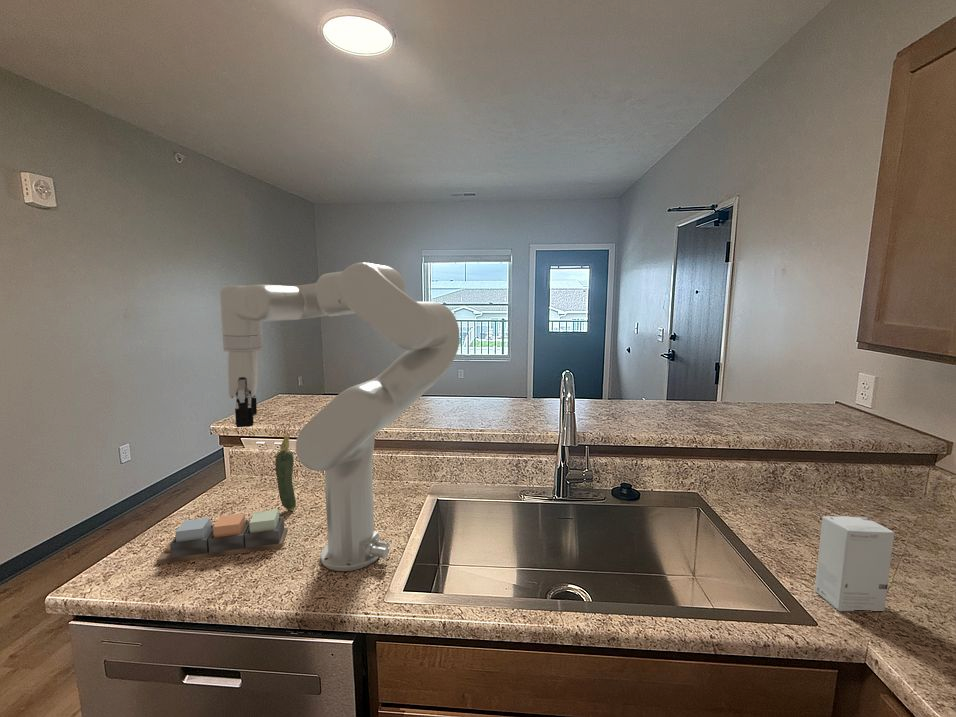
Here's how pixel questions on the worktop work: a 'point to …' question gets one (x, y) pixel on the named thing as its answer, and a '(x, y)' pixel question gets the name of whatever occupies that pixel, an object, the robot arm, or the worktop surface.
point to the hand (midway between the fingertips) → (247, 420)
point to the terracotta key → (229, 525)
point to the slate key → (193, 529)
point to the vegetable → (285, 475)
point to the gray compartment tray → (224, 544)
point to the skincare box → (854, 563)
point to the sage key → (264, 521)
